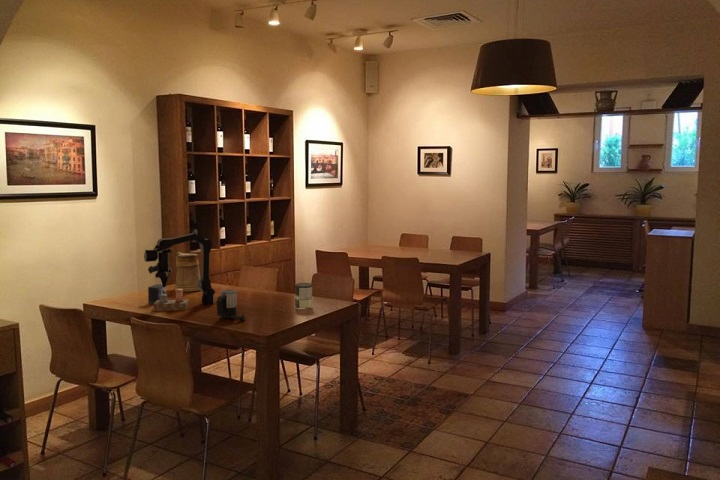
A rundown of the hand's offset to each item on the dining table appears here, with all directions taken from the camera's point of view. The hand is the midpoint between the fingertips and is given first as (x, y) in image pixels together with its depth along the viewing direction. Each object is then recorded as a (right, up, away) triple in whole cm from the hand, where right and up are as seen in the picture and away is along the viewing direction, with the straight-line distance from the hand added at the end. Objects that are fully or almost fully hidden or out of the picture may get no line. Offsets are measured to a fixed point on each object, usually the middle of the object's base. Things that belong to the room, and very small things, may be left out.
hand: (164, 287), depth 341 cm
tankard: (-4, -7, +58) cm, 59 cm away
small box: (-10, -11, +17) cm, 23 cm away
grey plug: (-1, -13, +1) cm, 13 cm away
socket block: (+4, -13, +2) cm, 13 cm away
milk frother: (+45, -16, -20) cm, 51 cm away
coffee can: (+81, -13, +9) cm, 82 cm away
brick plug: (+8, -10, +2) cm, 13 cm away
